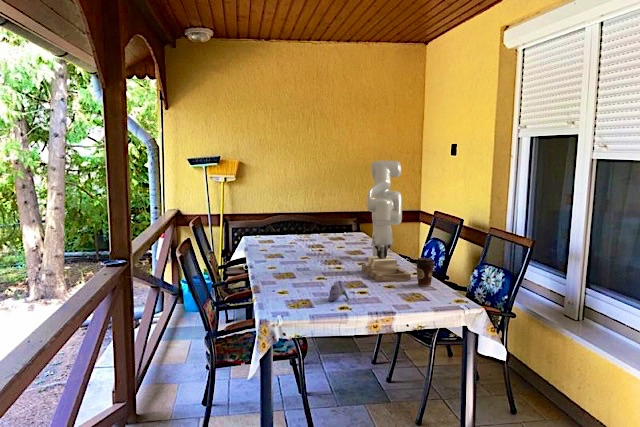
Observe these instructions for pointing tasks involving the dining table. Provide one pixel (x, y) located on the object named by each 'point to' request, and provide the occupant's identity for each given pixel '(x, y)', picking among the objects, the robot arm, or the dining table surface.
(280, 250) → the dining table surface
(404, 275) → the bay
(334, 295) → the grey arched piece
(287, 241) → the dining table surface
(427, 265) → the coffee cup
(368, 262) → the square knob plate
